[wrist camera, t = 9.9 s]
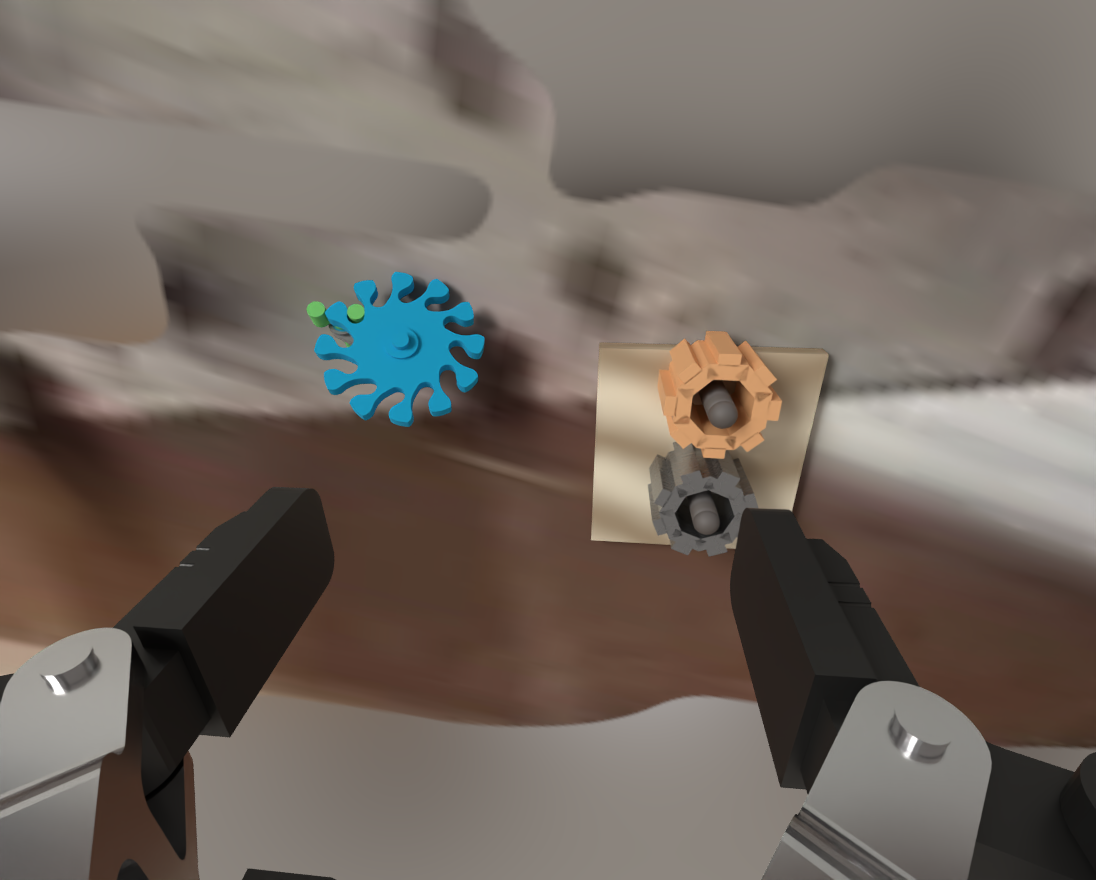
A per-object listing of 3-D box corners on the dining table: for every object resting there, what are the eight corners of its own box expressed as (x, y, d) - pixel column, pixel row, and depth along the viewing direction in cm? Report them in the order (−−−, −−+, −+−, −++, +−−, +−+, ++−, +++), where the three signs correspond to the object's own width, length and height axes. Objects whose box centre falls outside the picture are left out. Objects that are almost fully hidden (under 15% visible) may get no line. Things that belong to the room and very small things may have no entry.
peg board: (599, 342, 36) (597, 381, 30) (822, 348, 35) (870, 390, 28) (591, 530, 43) (588, 595, 36) (777, 541, 42) (808, 610, 35)
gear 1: (663, 329, 34) (670, 351, 30) (769, 333, 34) (791, 356, 30) (653, 423, 37) (658, 455, 33) (751, 428, 36) (769, 461, 32)
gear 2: (635, 453, 38) (639, 488, 34) (728, 425, 36) (743, 457, 32) (663, 526, 41) (669, 566, 37) (751, 502, 39) (768, 541, 35)
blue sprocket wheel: (513, 312, 34) (431, 449, 31) (508, 354, 40) (438, 473, 37) (356, 232, 34) (259, 359, 31) (373, 285, 40) (292, 397, 37)
